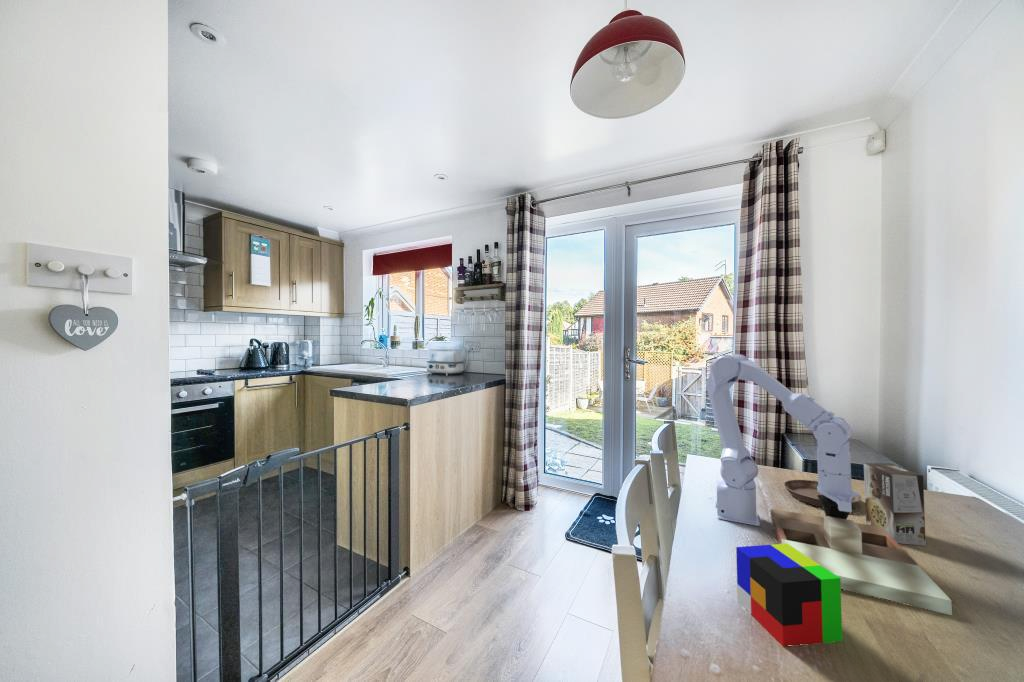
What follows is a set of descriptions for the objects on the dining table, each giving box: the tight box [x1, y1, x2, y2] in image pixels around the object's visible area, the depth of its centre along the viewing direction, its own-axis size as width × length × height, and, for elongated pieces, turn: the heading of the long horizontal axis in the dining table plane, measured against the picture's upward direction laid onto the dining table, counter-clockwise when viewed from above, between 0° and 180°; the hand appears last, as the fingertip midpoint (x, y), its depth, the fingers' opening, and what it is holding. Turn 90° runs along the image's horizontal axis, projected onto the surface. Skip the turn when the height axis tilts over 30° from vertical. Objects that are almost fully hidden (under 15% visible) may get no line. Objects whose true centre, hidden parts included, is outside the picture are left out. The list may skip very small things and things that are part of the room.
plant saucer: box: [783, 479, 863, 508], centre depth 108 cm, size 18×18×3 cm
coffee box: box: [863, 462, 927, 546], centre depth 88 cm, size 9×6×16 cm
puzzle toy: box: [735, 543, 843, 648], centre depth 61 cm, size 10×10×10 cm
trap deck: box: [769, 508, 953, 616], centre depth 79 cm, size 22×28×2 cm
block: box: [823, 515, 862, 555], centre depth 79 cm, size 5×5×5 cm
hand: (835, 530), depth 82 cm, fingers closed
